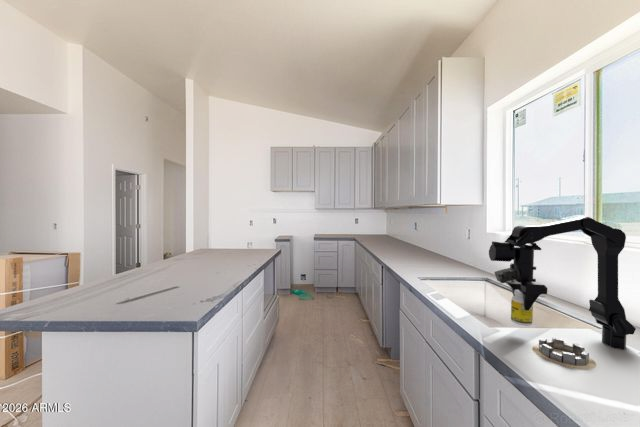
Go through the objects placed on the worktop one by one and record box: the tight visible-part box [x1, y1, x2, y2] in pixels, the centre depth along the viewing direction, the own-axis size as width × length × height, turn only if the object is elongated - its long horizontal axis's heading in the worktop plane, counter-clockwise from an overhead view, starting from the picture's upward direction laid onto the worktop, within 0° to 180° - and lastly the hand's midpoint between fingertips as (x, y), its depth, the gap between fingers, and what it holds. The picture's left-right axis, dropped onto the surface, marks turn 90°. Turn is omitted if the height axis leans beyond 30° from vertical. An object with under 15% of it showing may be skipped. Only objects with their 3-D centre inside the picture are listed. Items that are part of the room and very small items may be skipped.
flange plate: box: [532, 343, 597, 370], centre depth 89 cm, size 15×15×1 cm
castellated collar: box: [538, 337, 590, 366], centre depth 89 cm, size 11×11×3 cm
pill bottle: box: [510, 290, 534, 327], centre depth 102 cm, size 6×6×11 cm
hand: (521, 306), depth 102 cm, fingers closed on pill bottle, 6 cm apart
